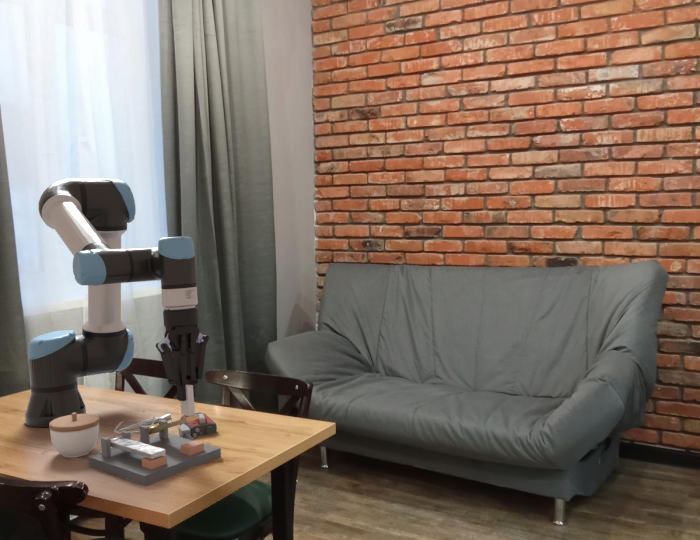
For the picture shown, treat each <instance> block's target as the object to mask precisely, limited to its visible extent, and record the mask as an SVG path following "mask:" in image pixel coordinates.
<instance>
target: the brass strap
mask: <svg viewBox="0 0 700 540" xmlns="http://www.w3.org/2000/svg"><path fill="white" fill-rule="evenodd" d="M180 419H181V418H180ZM180 419H178V420H174V421H171V422H169V423H168V424H164V425H159V424H158V425H154V426H150V427H149V436H150V435H151V436H152V435H155V434H157V433H158V434H159V432H161V431H162V430H163V429H167V428H168V429H170V428H173V427H176V426H180V424H183V423H187V422H190V421H193V420H196V419H200V417H199V414H197V415H194V416H190V417H187V418H184V419H181V420H180Z"/></svg>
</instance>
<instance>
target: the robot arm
mask: <svg viewBox="0 0 700 540" xmlns="http://www.w3.org/2000/svg"><path fill="white" fill-rule="evenodd" d="M135 202H136V200H135V197H134V193H133V192H132V189H131V187H130V186H129V184H128V183H127V182H125V181H124V180H121V179H113V178H65V179H61V180H58V181H55V182H53V183H52V184H50V185H49V186H48V187H47V188H45V189H44V191H43V192H42V194H41V195H40V198H39V201H38V213H39V216H40V217H41V220H42V221H43V222H44V224H45V225H46V226H47V227H48V228H50V229H52V230H54V231H55V232H56V233H57V235H58V237H59V238H61V241H62V242H63V243H64V245H65V246H66V248H67V249H68V251H70V253H71V254H72V256H73V259H72V273H73V275H74V280H75V281H76V283H77V284H78V285H80V286H87V299H88V300H87V312H88V313H87V321H86V322H85V323H84V324H83V325H81V327H82V328H81V332H82V333H80V334H76V332H75V331H74V330H71V329H64V330H63V329H62V330H56V331H51V332H46V333H43V334H41V335H37V336H35V337H33V338H32V339H31V340H30V341H29V343H28V354H27V359H28V366H29V380H30V381H29V384H30V396H29V400H28V402H27V403H28V404H27V407H26V410H25V414H24V420H25V421H24V422H25V425H27V426H29V427H35V428H47V427H48V428H49V423H50V422H51V421H52V420H54V419H56V418H59V417H63V416H67V415H72V413H77V414H87V408H86V407H87V406H86V405H85V401H84V399H83V397H82V395H81V393H80V390H79V386H78V378H81V377H82V378H83V377H87V376H88V377H89V376H95V375H100V374H107V373H110V374H111V373H115V372H118V371H119V372H120V371H124V370H126V369H127V368H129V366H130V365H131V363H132V360H133V358H134V355H135V354H134V353H135V342H134V341H135V340H134V335H133V333H132V331H131V330H130V329H128V328H127V324H126V323H125V322H124V321H123V320H122V317H121V315H122V313H121V312H122V284H126V283H128V284H129V283H141V282H154V281H155V282H156V281H160V289H161V303H162V305H161V307H163V308H165V309H164V310H163V311H162V315H163V317H162V318H163V325H164V327H165V333H164V339H162V340H161V341H160V342H157V343H155V348H156V349H157V351H158V352H159V354H160V357H161V362H162V364H163V368H164V371H165V376H166V378H167V382H168V384H169V385H172V386H176V390H177V400H178V401H180V414H181V416H183V415H187V416H190V415H194V414H195V413H196V410H195V398H196V397H197V396H196V395H197V394H196V385H198V384H199V382H200V381H199V380H202V379H203V375H204V368H205V367H204V366H205V357H206V347H207V344H208V342H209V339H210V337H209V336H210V335H207V334H202V332H201V331H200V328H199V325H198V324H199V323H200V316H199V315H200V312H199V308H198V307H197V305H198V303H199V301H198V300H199V299H198V287H197V273H196V272H197V271H196V270H197V269H196V268H197V267H196V251H195V246H194V239H193V238H192V237H191V236H185V235H184V236H170V237H169V236H167V237H161V238H160V239H159V238H158V239H159V240H158V243H157V246H155V247H141V248H140V247H139V248H137V247H136V248H122V235H124V234H125V232H127V231H128V224H130V223H132V222H133V221H134V220H135V216H136V211H137V210H136V203H135Z"/></svg>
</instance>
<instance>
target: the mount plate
mask: <svg viewBox="0 0 700 540" xmlns="http://www.w3.org/2000/svg"><path fill="white" fill-rule="evenodd" d="M164 424H168V420H159V422H158V425H164ZM149 428H150V427H149V425H146V426H145V425H142V426H140V427H139V431H140V433H139V436H140V437H139V438H140V439H139V440H136V441H137V442H141V443H144V444H148V445H151V446H155V447H158V448H162V449H165V451H166V454H165V455H162V456H159V457H156V458H153V459H150V458H146V457H143V456H140V455H137V454H133V453H130V452H127V451H124V450H120V449H117V448H114V447H113V448H112V447H110V440H111V438H110V437H108V436H103V437H100V449H101V450H100V451H101V452H99V453H95V454H93V455H90V456H89V455H88V467H91V468H94V469H97V470H100V471H103V472H105V473H108V474H111V475H114V476H116V477H119V478H122V479H125V480H127V481H131V482H133V483H135V484H138V485H141V486H144V487H145V486H146V487H147V486H148V485H151V484H154V483H156V482H159V481H162V480H164V479H167V478H169V477H172V476H174V475H177V474H180V473H183V472H185V471H188V470H191V469H194V468H196V467H198V466H201V465H203V464H206V463H209V462H211V461H214V460H216V459H220V458H222V454H221V453H222V450H221V447H217V446H214V445H210V444H208V443H204V441H203V442H202V441H200V440H195V439H194V441H193V440H189V439H187V438H182V437H181V436H178V435H175V434H170V433H169V428H167V429H163V430H162V431H161V432H158V434H156V435H155V434H154V435H151V436H150V435H149ZM131 432H132V431H130V430H128V431H122V434H121V436H123V437H124V438H127V439H131V440H132V434H131ZM111 448H112V449H111Z"/></svg>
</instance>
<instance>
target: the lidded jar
mask: <svg viewBox="0 0 700 540" xmlns="http://www.w3.org/2000/svg"><path fill="white" fill-rule="evenodd" d="M48 428H49V434H50V440H51V444H52V446H53V448H54V449H55V451H56V452H57V453H59V454H61V456H62V457H63V458H68V459H69V458H71V459H72V458H79V457H83V456H87V455H88V454H90V453H91V450H92V449H94V447H95V446H96V444H97V443H98V441H99V436H100V416H98V415H97V414H93V413H86V414H77V413H72V415H67V416H63V417H59V418H56V419H54V420H52V421H51V422H50V423H49V427H48Z"/></svg>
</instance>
